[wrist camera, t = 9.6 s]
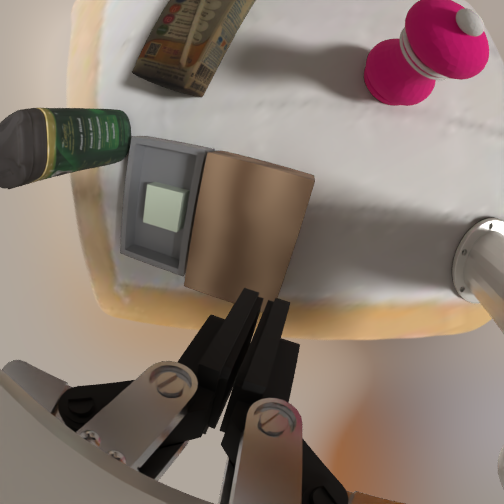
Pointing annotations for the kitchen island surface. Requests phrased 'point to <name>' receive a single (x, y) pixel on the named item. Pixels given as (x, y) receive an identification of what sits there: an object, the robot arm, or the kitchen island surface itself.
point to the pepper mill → (427, 52)
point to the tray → (137, 177)
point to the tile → (165, 206)
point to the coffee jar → (60, 142)
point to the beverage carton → (190, 43)
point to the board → (245, 226)
